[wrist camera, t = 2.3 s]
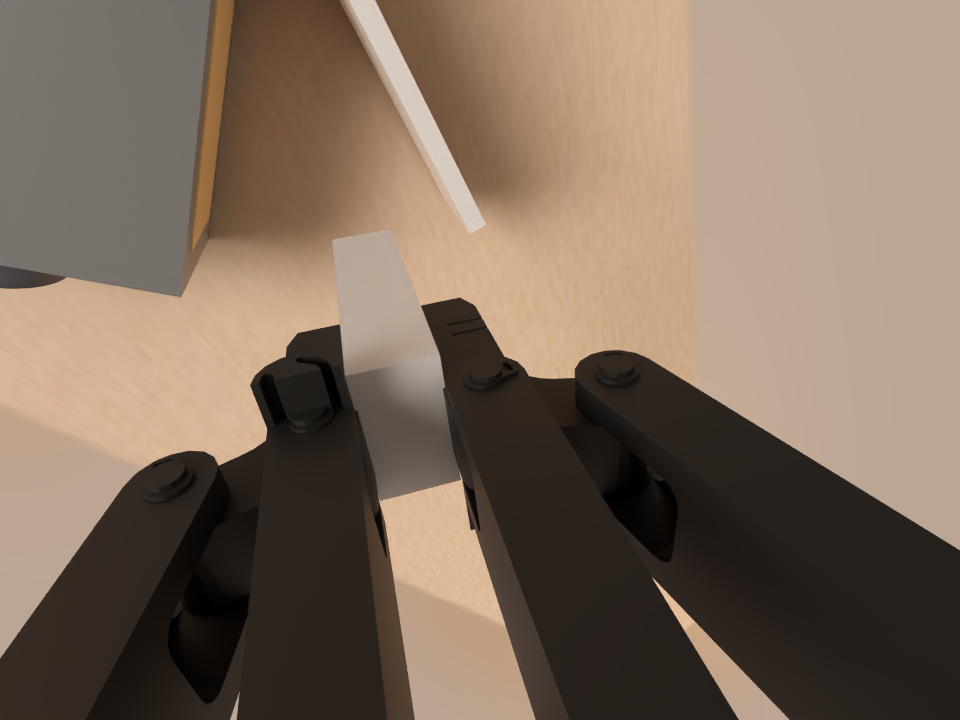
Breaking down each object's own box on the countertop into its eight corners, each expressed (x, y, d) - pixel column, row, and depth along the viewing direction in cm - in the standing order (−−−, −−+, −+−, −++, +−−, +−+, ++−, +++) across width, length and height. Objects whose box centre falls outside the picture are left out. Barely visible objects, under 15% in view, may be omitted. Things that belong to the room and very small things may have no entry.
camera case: (-130, -338, 17) (-397, -554, 11) (256, -157, 21) (232, -235, 15) (-71, 215, 25) (-208, 284, 18) (205, 269, 29) (175, 341, 22)
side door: (253, -150, 21) (236, -202, 16) (281, -167, 21) (272, -224, 16) (440, 199, 30) (466, 236, 25) (459, 188, 29) (490, 222, 25)
